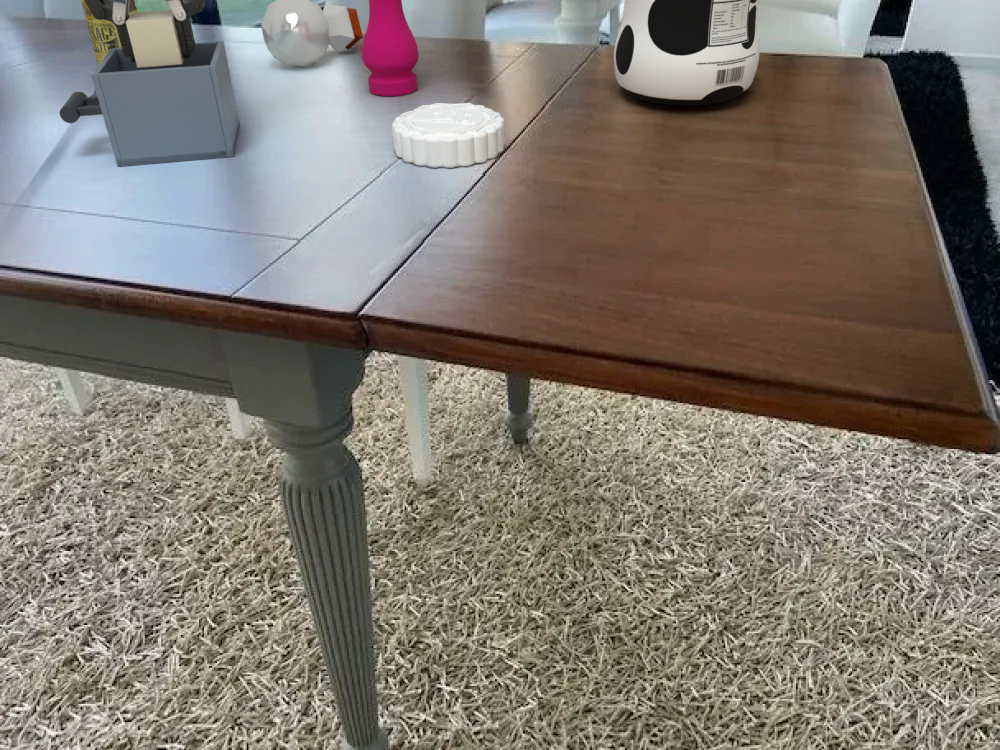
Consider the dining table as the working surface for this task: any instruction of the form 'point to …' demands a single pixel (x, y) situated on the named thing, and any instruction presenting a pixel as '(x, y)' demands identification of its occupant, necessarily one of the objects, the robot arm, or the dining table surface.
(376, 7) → the pepper mill
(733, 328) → the dining table surface
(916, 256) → the dining table surface
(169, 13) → the block
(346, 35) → the potion bottle
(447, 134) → the mooncake
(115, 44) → the sauce bottle
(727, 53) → the milk container
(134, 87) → the grey drawer with handle
